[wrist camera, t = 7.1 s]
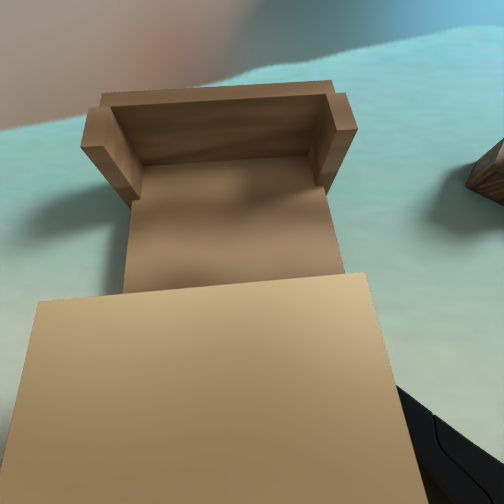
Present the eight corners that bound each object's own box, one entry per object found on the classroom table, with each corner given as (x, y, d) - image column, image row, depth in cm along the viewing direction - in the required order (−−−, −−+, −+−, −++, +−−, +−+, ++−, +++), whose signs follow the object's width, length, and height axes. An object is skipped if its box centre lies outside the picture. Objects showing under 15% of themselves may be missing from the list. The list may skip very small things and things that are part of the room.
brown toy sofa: (344, 283, 18) (397, 242, 11) (127, 303, 17) (52, 271, 11) (314, 160, 22) (340, 79, 16) (139, 172, 21) (91, 93, 15)
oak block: (290, 426, 14) (520, 840, 2) (201, 436, 14) (-110, 962, 2) (278, 333, 16) (364, 272, 4) (199, 341, 16) (38, 302, 4)
